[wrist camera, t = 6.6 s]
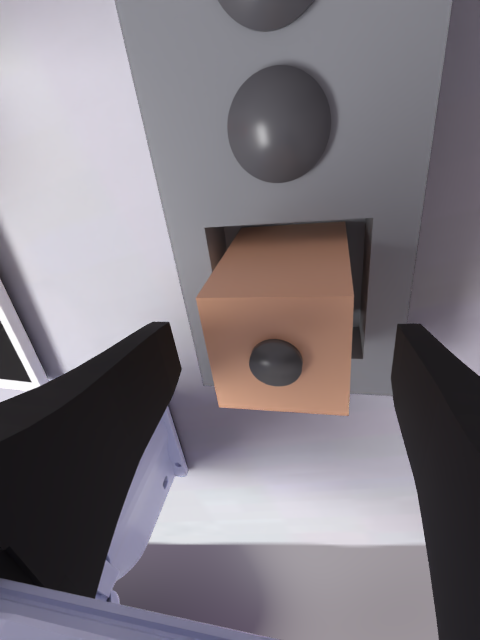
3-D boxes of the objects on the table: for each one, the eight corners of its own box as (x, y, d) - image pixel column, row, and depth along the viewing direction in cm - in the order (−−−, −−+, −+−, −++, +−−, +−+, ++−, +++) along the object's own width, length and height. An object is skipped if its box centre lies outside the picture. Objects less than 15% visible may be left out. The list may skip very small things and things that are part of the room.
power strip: (385, 348, 19) (396, 399, 16) (221, 344, 21) (202, 388, 18) (447, -205, 9) (505, -349, 6) (138, -109, 11) (69, -180, 8)
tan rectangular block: (342, 313, 17) (349, 422, 11) (252, 313, 18) (216, 413, 12) (344, 221, 15) (354, 301, 9) (241, 227, 16) (192, 303, 10)
